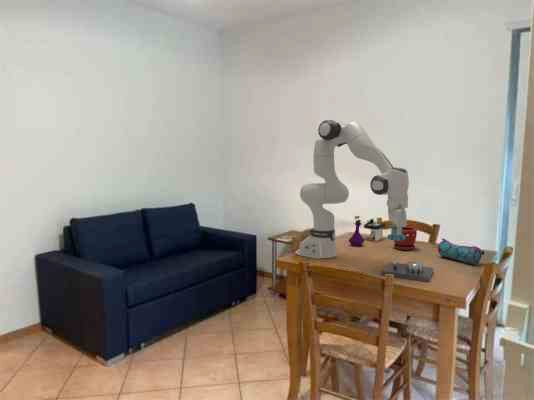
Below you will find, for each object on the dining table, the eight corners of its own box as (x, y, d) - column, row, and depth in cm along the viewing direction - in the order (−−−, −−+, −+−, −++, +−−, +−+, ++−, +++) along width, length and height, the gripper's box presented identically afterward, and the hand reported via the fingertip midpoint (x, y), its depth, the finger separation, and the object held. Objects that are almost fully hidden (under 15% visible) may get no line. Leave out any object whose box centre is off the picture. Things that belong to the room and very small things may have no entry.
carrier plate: (381, 274, 179) (381, 262, 178) (389, 266, 193) (389, 254, 192) (428, 282, 169) (428, 268, 168) (433, 272, 183) (433, 259, 182)
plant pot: (420, 249, 226) (421, 228, 224) (406, 252, 219) (407, 231, 217) (401, 244, 237) (402, 225, 235) (387, 247, 229) (387, 227, 228)
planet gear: (384, 238, 183) (384, 227, 183) (396, 236, 187) (396, 226, 186) (396, 241, 176) (397, 230, 176) (409, 239, 180) (409, 228, 179)
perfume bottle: (353, 243, 241) (353, 214, 238) (364, 245, 236) (365, 215, 234) (348, 245, 235) (348, 215, 232) (360, 247, 230) (360, 217, 228)
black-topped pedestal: (363, 233, 270) (364, 214, 269) (401, 239, 254) (402, 218, 252) (343, 241, 249) (344, 220, 247) (383, 247, 232) (384, 225, 231)
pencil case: (483, 264, 195) (485, 245, 194) (473, 267, 191) (474, 247, 190) (446, 255, 213) (447, 237, 212) (435, 257, 209) (436, 239, 207)
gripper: (410, 206, 169) (409, 238, 171) (399, 201, 189) (398, 229, 191) (395, 206, 170) (394, 237, 171) (386, 200, 190) (385, 229, 192)
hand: (396, 233), depth 181 cm, fingers closed on planet gear, 5 cm apart
